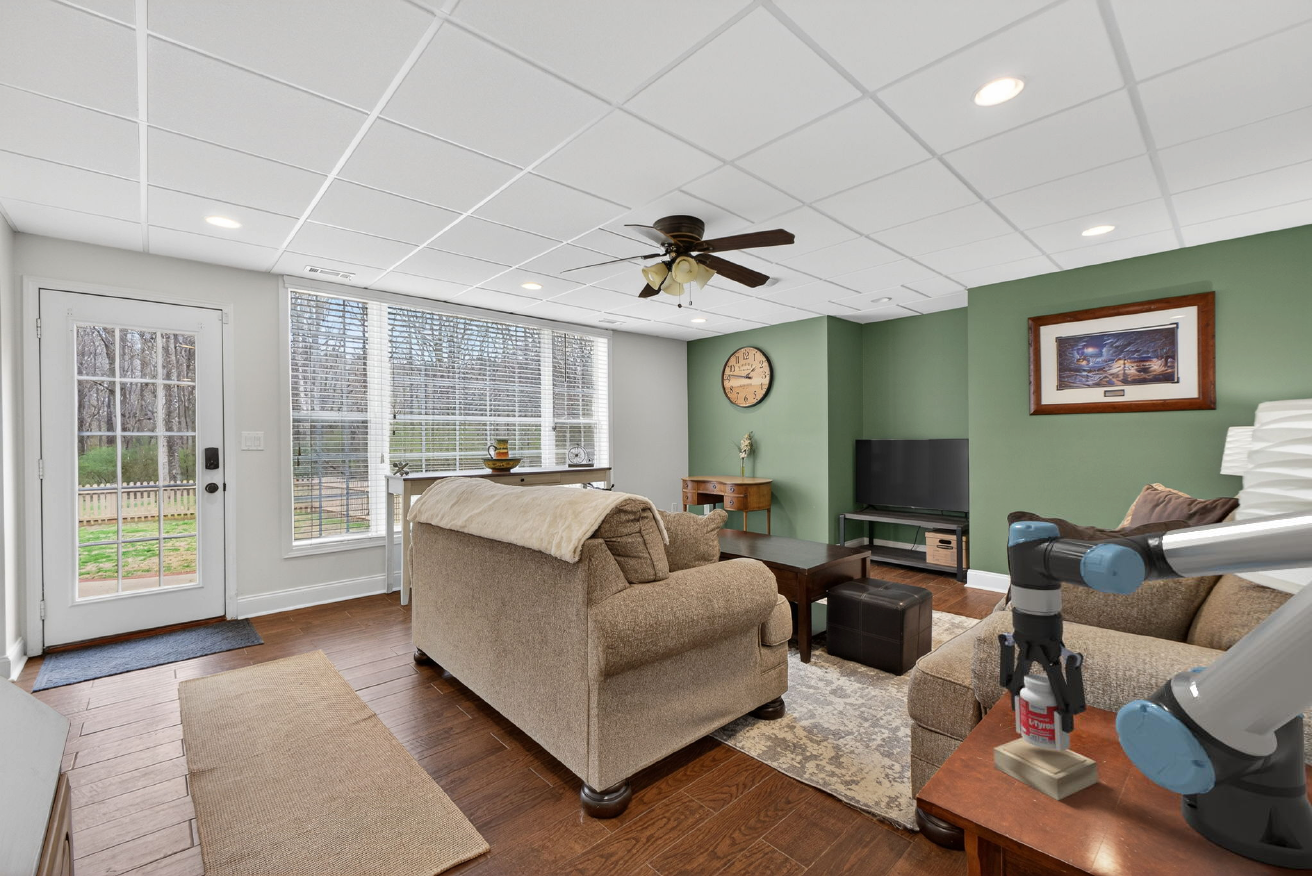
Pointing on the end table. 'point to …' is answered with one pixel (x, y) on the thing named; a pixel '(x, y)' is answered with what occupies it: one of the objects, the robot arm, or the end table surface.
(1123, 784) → the end table surface
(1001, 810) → the end table surface
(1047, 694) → the pill bottle
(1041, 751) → the maple plinth
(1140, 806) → the end table surface
